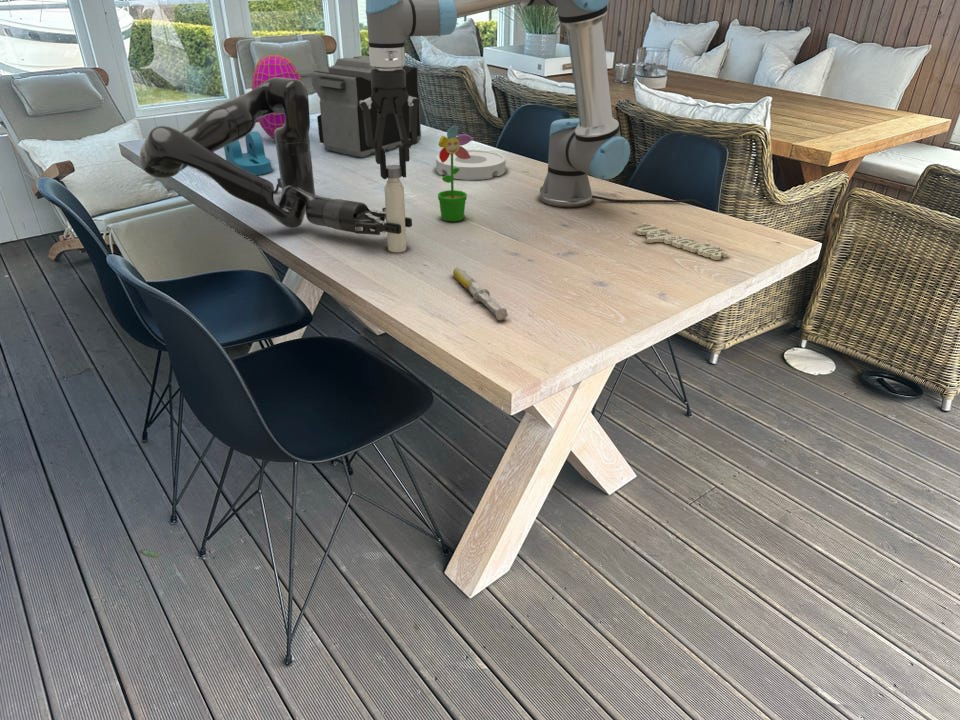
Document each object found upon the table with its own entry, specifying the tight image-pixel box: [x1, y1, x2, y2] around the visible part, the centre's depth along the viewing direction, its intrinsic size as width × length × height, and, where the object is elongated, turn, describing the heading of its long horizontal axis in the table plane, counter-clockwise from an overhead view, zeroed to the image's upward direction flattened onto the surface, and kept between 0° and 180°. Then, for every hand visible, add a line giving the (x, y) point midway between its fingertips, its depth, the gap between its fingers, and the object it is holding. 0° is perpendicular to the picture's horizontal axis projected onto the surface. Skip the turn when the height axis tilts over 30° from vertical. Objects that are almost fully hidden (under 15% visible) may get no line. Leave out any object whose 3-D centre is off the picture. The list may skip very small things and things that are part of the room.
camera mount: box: [223, 131, 272, 176], centre depth 226 cm, size 18×10×10 cm, turn 35°
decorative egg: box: [251, 54, 303, 140], centre depth 257 cm, size 19×19×30 cm
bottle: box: [383, 178, 407, 253], centre depth 163 cm, size 4×4×20 cm
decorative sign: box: [636, 222, 728, 261], centre depth 173 cm, size 26×1×10 cm
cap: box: [386, 164, 403, 179], centre depth 159 cm, size 4×4×2 cm
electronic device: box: [310, 55, 422, 159], centre depth 250 cm, size 37×22×30 cm, turn 144°
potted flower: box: [437, 124, 474, 222], centre depth 182 cm, size 9×8×25 cm
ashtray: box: [435, 149, 507, 181], centre depth 229 cm, size 23×23×4 cm
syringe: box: [452, 266, 509, 321], centre depth 145 cm, size 25×4×3 cm, turn 21°
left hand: (405, 226), depth 164 cm, fingers closed on bottle, 4 cm apart
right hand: (393, 176), depth 159 cm, fingers open, 4 cm apart
